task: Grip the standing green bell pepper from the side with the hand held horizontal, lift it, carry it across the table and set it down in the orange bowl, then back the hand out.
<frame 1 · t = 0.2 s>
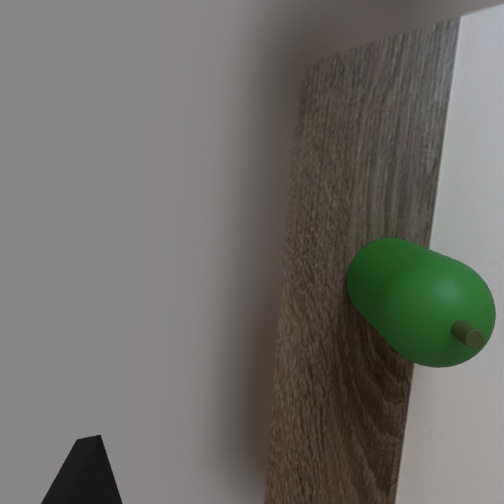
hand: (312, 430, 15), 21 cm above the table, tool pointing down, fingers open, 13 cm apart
green pepper: (388, 279, 36), on the table
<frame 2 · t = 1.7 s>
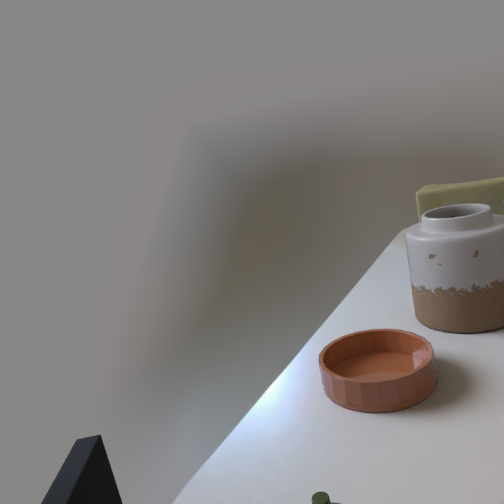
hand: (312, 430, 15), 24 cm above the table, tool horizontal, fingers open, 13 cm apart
vase: (466, 314, 74), on the table
orange bowl: (378, 380, 61), on the table
cheese: (477, 247, 106), on the table
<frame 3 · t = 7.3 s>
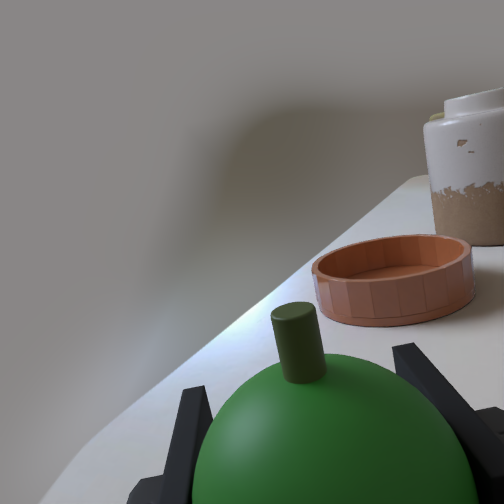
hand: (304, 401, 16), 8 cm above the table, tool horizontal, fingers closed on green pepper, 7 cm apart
vase: (501, 230, 58), on the table
orange bowl: (393, 295, 44), on the table
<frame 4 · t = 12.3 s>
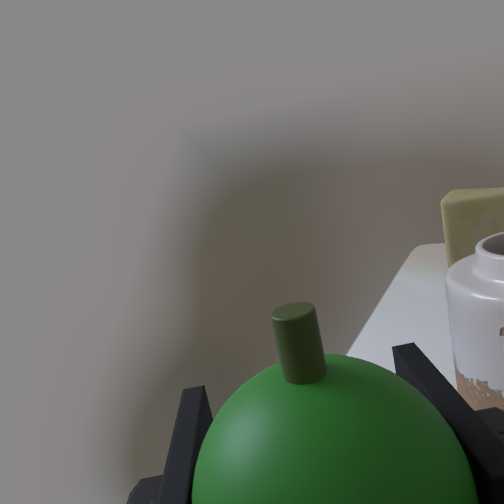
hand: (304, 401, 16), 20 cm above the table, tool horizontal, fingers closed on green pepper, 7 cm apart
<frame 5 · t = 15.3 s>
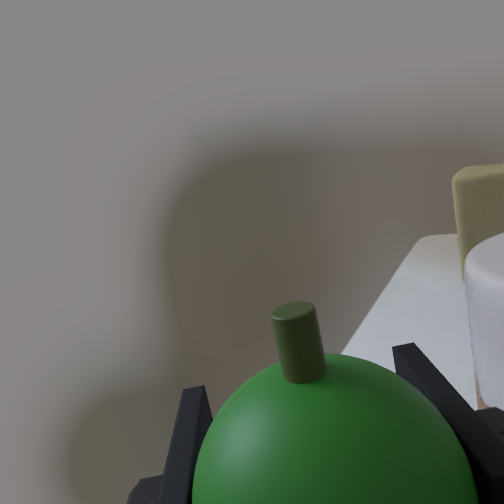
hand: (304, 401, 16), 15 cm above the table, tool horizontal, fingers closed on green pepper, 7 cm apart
when the fingers open (8 cm above the table, at t = 17.5 s): green pepper stays where it is, resting on orange bowl.
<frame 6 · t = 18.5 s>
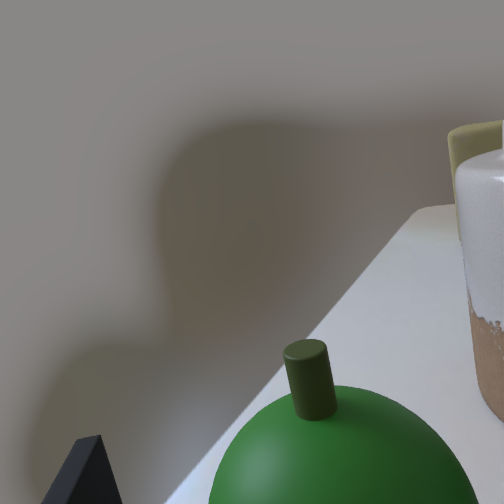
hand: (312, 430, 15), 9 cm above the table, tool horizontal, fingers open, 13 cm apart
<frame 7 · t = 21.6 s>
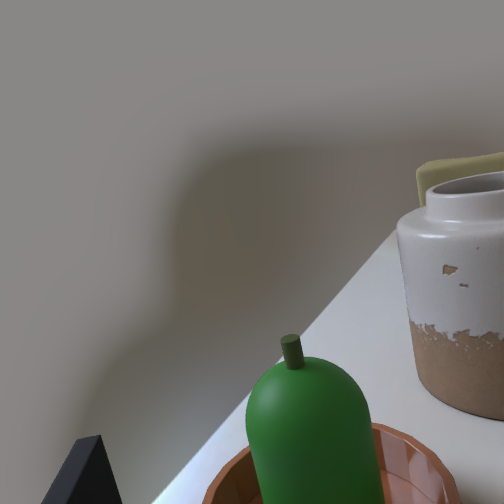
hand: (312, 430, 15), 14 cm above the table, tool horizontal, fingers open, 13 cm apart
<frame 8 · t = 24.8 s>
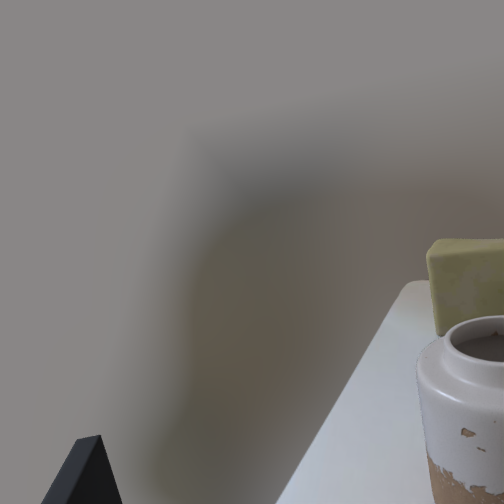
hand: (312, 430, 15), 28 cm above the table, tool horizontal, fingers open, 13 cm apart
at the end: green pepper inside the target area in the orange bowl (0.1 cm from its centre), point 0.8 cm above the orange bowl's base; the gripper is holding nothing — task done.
